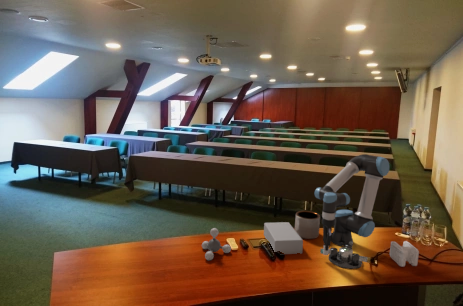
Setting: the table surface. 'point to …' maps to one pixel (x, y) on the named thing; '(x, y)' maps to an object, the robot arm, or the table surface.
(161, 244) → the table surface
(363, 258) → the screw
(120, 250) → the table surface
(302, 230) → the planter
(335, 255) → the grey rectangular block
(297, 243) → the box
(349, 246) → the screw
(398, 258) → the cable organizer
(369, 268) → the table surface
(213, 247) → the molecule model
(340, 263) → the tribrach base
